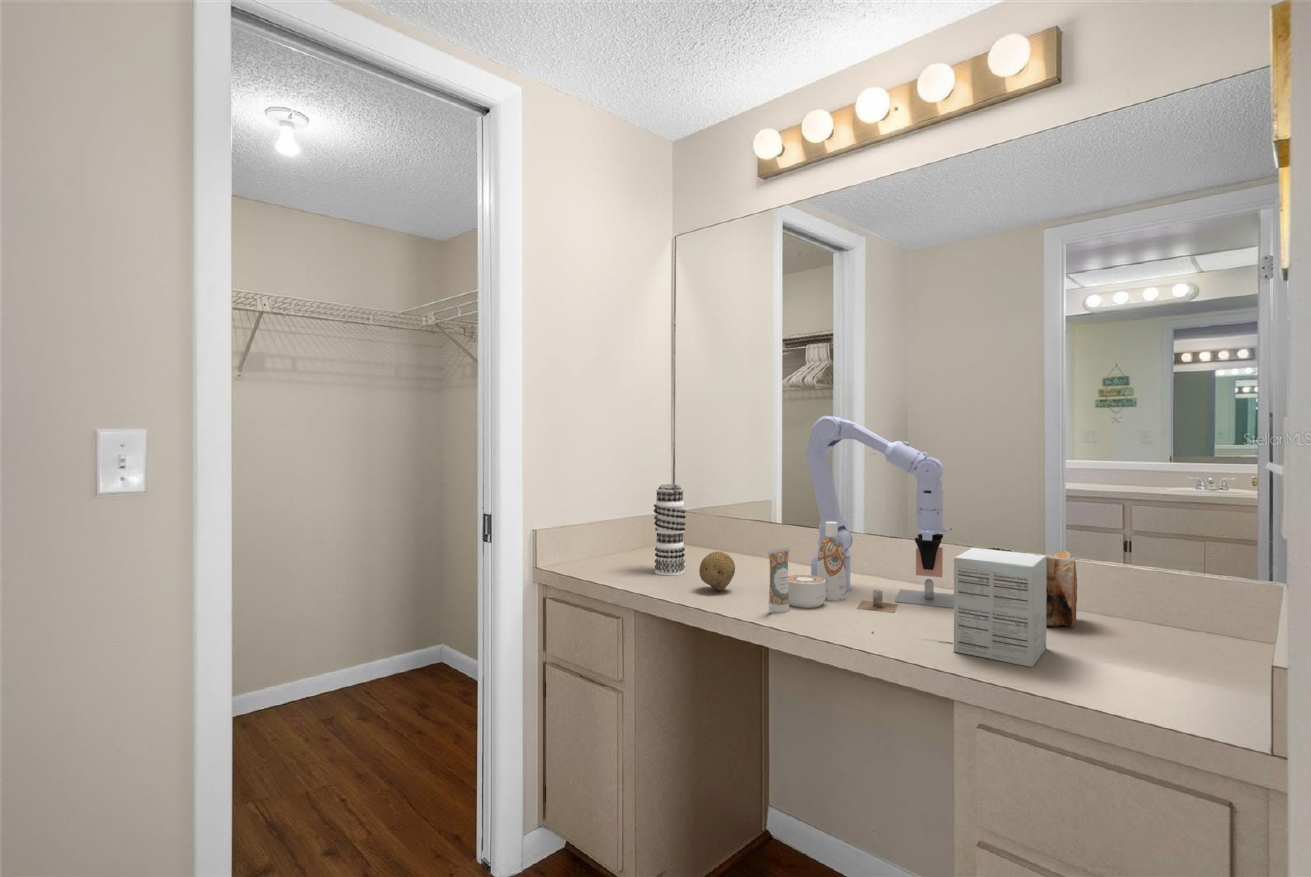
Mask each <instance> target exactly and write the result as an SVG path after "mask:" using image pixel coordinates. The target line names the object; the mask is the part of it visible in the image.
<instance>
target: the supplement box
mask: <svg viewBox="0 0 1311 877" xmlns="http://www.w3.org/2000/svg"><path fill="white" fill-rule="evenodd" d="M1046 556H1047V555H1044V554H1036V553H1027V552H1025V553H1024V552H1017V551H1008V550H1000V549H999V550H997V549H986V548H977V547H971V548H970V549H968V550H966V551H964V552H963V553H961V554H959V555H956V556H954V557H953V594H954V609H953V652H955V653H960V654H965V655H968V656H973V657H978V658H979V657H980V658H985V659H989V660H994V661H999V662H1004V663H1007V664H1008V663H1010V664H1014V665H1017V666H1018V665H1019V666H1024V667H1029V668H1032V667H1034V665H1035V664H1036V662H1037V661H1038V660H1039V659H1040V657H1041V656H1042V654H1043V653H1044V652H1045V650H1046V649H1047V626H1046V581H1047V568H1046Z"/></svg>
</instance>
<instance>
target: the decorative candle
mask: <svg viewBox="0 0 1311 877" xmlns="http://www.w3.org/2000/svg"><path fill="white" fill-rule="evenodd" d="M684 491H685V490H684V489H683V488H682V486H681V485H680V484H676V483H675V484H672V483H671V484H661V485H659V487H658V488H657V489H656V490H655V492H656V500H655V503H654V504H653V507H654V509H653V512H654V514H655V515H654V517H653V519H654V520H655V521H654V523H653V524H654V525H655V526H656V527H655V529H654V532H655V533H656V542H655V548H654V551H655V554H654V557H656V558H655V559H654V563H655V565H654V568H655V571H654V572H655V574H656V575H661V576H679V575H683V574H685V570H684V569H685V567H686V566H685V564H684V563H685V562H686V560H685V559H684V557H685V555H686V554H685V553H684V552H685V547H684V533H685V531H686V528H685V527H684V526H686V522H684V519H686V518H687V516H686V515H684V514H685V513H687V512H686V510H685V509H684V508H683V507H684V504H685V503H684V494H683V492H684Z"/></svg>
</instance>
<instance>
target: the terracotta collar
mask: <svg viewBox="0 0 1311 877" xmlns="http://www.w3.org/2000/svg"><path fill="white" fill-rule="evenodd" d="M943 549H944V548H943V547H942V546H941V547H940V546H939V547H938V550H937V553H936V559H935V564H934V568H933V570H929V569H923V565H922V560H921V555H920V551H919V548H918V546H916V548H915V576H920V577H933V578H934V577H935V578H942V577H943V562H944V561H943V553H944V552H943V551H944V550H943Z"/></svg>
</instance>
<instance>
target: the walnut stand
mask: <svg viewBox="0 0 1311 877" xmlns="http://www.w3.org/2000/svg"><path fill="white" fill-rule="evenodd" d="M898 606H899V603H890V602H883V590H880V589H873V590H872V600H871V601H870V600H861V601H860V603H858V606H857V608H856V609H857V610H865V611H871V612H872V611H873V612H881V613H890V614H895V613H896V611H897V608H898Z"/></svg>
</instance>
